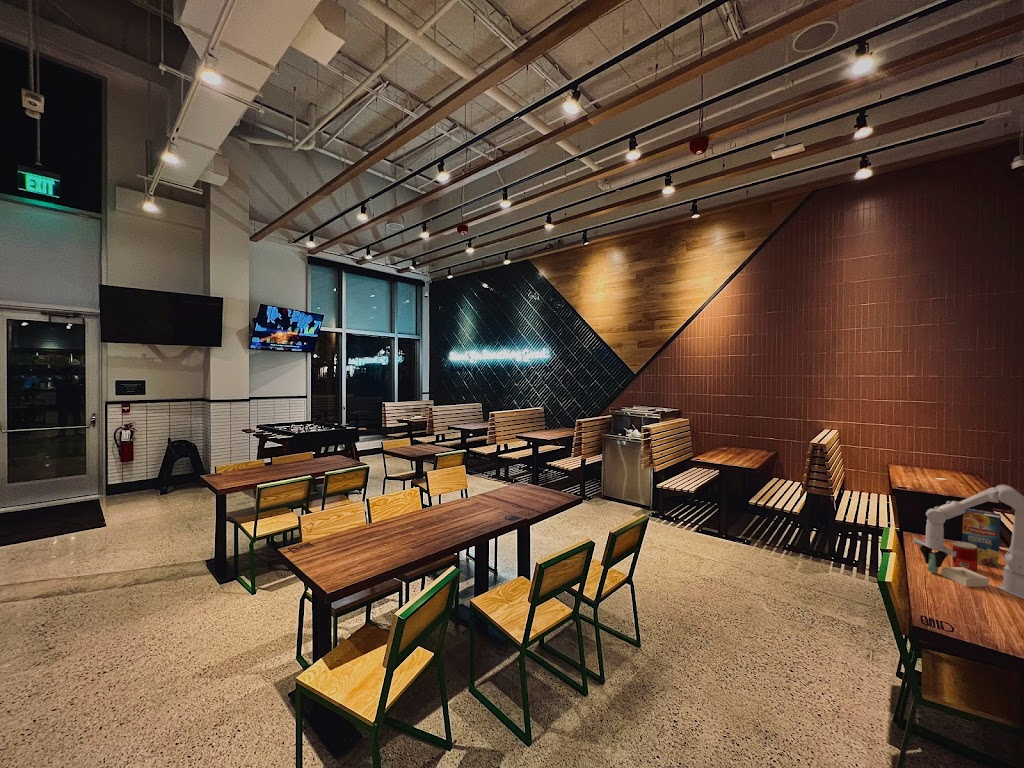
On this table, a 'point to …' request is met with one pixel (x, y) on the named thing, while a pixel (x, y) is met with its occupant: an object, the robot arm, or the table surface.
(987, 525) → the juice carton
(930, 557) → the peg
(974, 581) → the socket block
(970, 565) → the canned food
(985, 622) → the table surface
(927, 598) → the table surface
